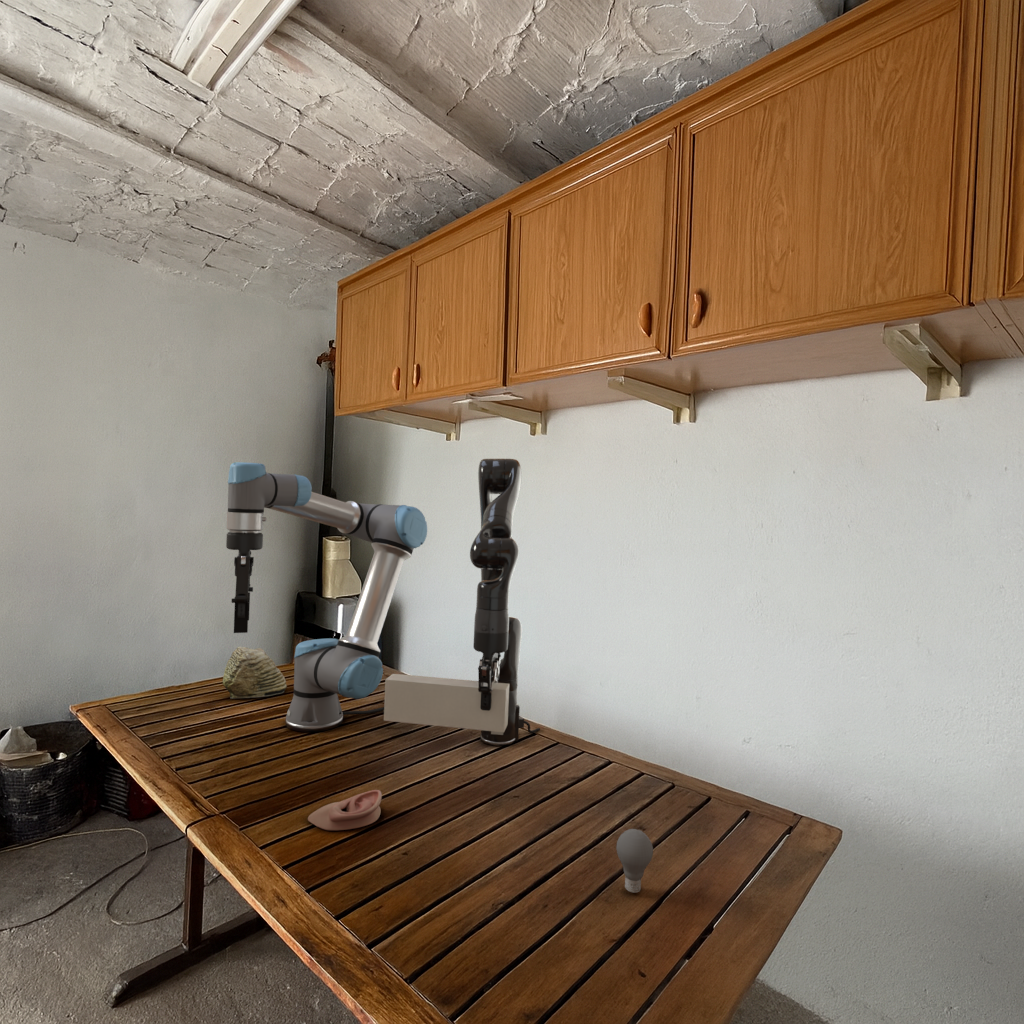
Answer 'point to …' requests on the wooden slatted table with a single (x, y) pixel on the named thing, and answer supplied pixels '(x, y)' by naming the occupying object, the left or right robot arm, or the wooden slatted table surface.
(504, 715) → the bar
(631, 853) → the light bulb
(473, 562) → the right robot arm
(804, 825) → the wooden slatted table surface
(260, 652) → the fossil
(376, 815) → the anatomical model
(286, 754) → the wooden slatted table surface
